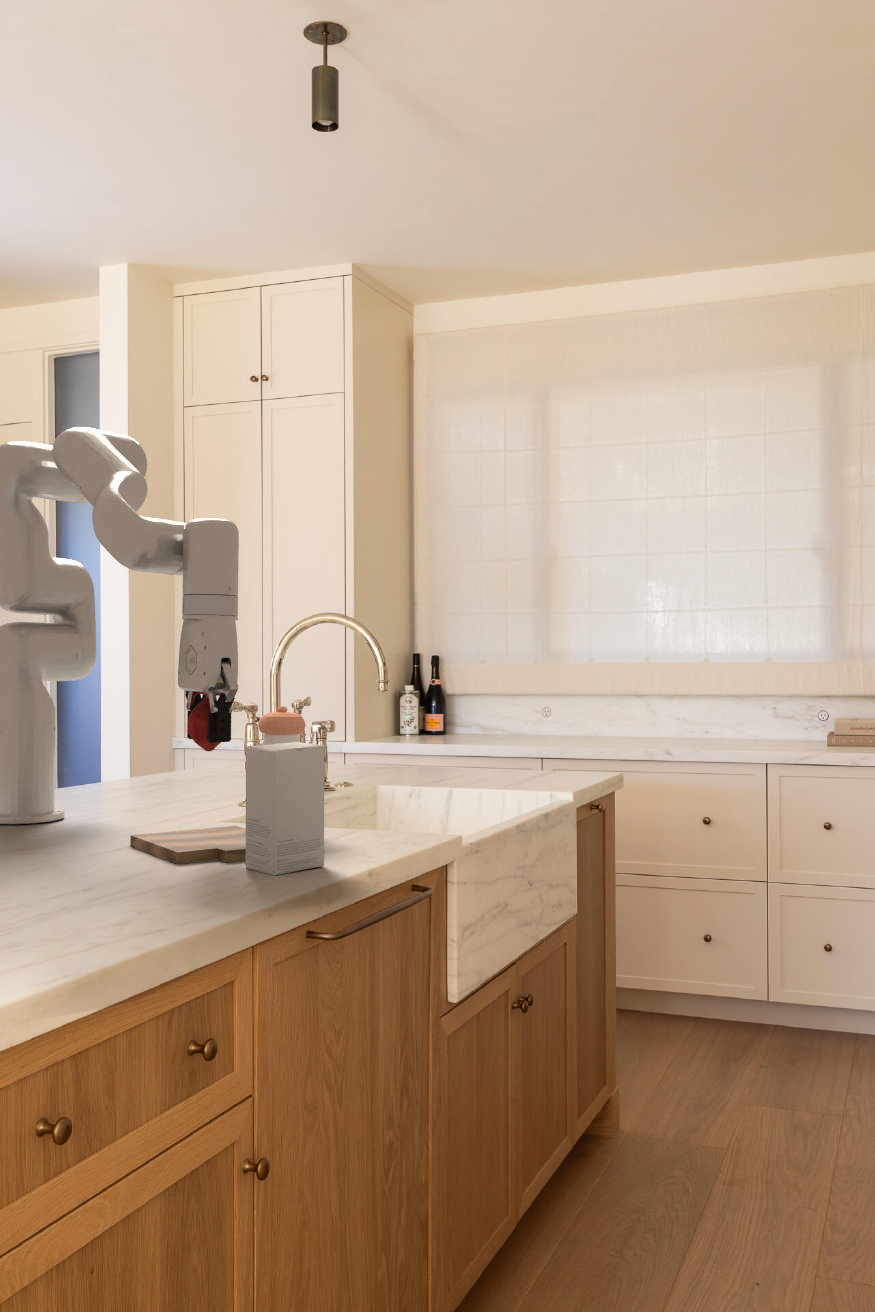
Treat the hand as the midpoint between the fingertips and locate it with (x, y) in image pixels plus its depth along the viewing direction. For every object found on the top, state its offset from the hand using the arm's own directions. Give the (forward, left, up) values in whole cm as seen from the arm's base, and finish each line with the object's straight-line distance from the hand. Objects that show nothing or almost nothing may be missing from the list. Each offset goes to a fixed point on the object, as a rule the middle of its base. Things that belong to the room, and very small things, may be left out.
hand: (208, 739), depth 151 cm
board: (+1, 0, -15) cm, 15 cm away
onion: (0, 0, -2) cm, 2 cm away
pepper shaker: (-5, +14, -15) cm, 21 cm away
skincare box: (+18, +2, -15) cm, 24 cm away
